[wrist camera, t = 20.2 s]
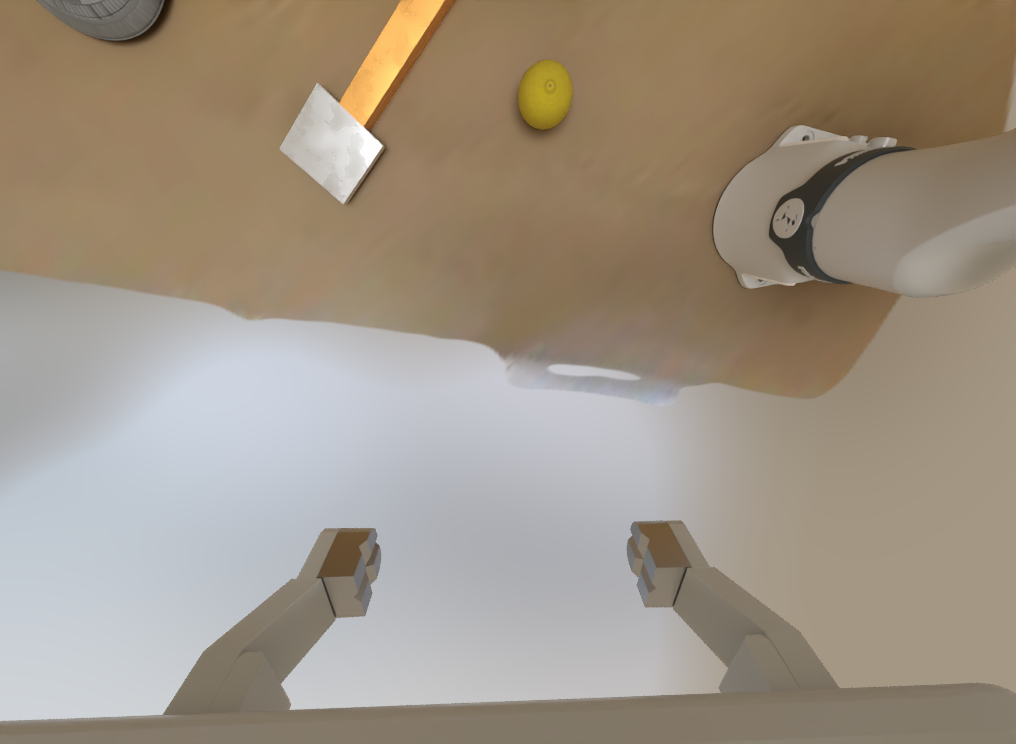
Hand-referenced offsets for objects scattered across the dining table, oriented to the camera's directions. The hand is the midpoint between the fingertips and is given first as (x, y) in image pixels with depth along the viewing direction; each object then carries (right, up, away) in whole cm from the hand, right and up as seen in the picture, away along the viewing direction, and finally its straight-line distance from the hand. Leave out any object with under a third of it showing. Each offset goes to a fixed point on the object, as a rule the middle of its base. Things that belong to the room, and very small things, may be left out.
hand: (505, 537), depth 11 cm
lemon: (+4, +35, +29) cm, 46 cm away
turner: (-14, +35, +25) cm, 46 cm away
